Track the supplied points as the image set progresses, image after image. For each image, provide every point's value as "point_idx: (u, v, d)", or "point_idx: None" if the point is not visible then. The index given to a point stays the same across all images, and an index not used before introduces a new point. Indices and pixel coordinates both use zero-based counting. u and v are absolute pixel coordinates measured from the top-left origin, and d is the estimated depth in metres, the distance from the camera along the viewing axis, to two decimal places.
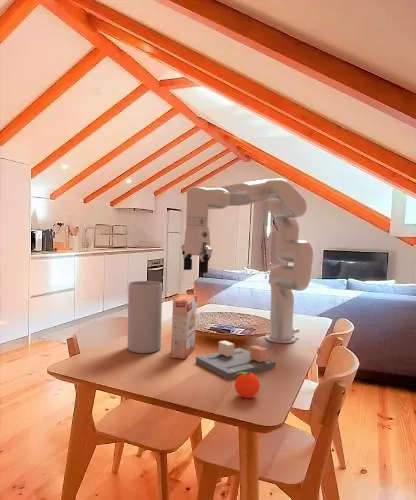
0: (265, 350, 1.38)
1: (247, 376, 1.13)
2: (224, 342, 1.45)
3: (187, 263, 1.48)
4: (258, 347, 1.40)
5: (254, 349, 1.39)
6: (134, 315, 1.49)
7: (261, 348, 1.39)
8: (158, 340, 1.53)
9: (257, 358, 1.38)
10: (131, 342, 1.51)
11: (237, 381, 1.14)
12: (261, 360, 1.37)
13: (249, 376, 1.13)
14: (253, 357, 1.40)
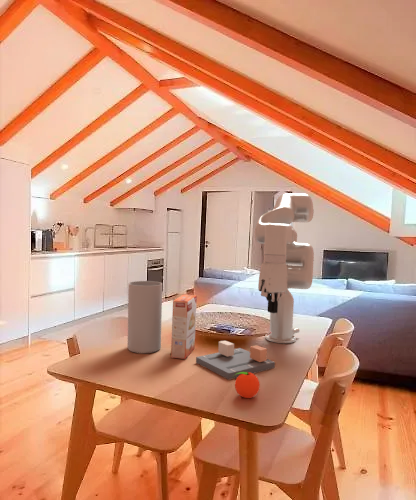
0: (265, 350, 1.38)
1: (247, 376, 1.13)
2: (224, 342, 1.45)
3: None
4: (258, 347, 1.40)
5: (254, 349, 1.39)
6: (134, 315, 1.49)
7: (261, 348, 1.39)
8: (158, 340, 1.53)
9: (257, 358, 1.38)
10: (131, 342, 1.51)
11: (237, 381, 1.14)
12: (261, 360, 1.37)
13: (249, 376, 1.13)
14: (253, 357, 1.40)
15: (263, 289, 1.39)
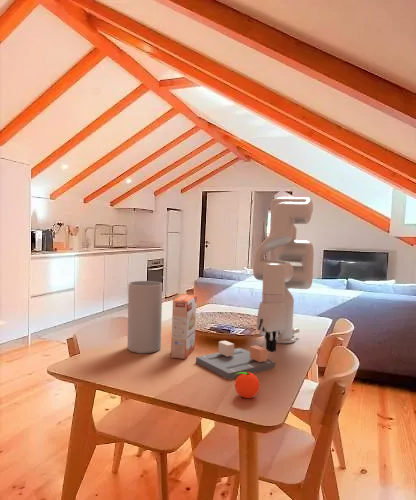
0: (265, 350, 1.38)
1: (247, 376, 1.13)
2: (224, 342, 1.45)
3: None
4: (258, 347, 1.40)
5: (254, 349, 1.39)
6: (134, 315, 1.49)
7: (261, 348, 1.39)
8: (158, 340, 1.53)
9: (257, 358, 1.38)
10: (131, 342, 1.51)
11: (237, 381, 1.14)
12: (261, 360, 1.37)
13: (249, 376, 1.13)
14: (253, 357, 1.40)
15: (261, 328, 1.39)
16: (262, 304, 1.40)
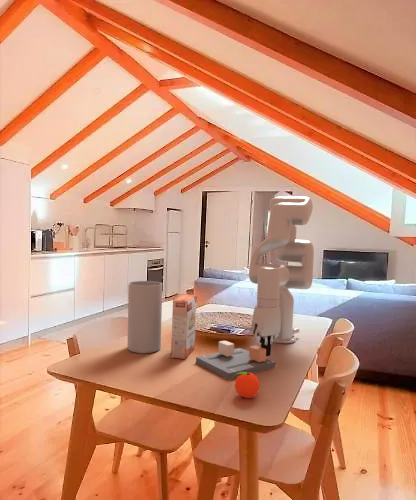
0: (264, 350, 1.38)
1: (247, 376, 1.13)
2: (224, 342, 1.45)
3: None
4: (257, 347, 1.40)
5: (253, 349, 1.39)
6: (134, 315, 1.49)
7: (261, 348, 1.38)
8: (158, 340, 1.53)
9: (256, 358, 1.38)
10: (131, 342, 1.51)
11: (237, 381, 1.14)
12: (260, 360, 1.37)
13: (249, 376, 1.13)
14: (252, 357, 1.40)
15: (256, 333, 1.38)
16: (257, 309, 1.38)
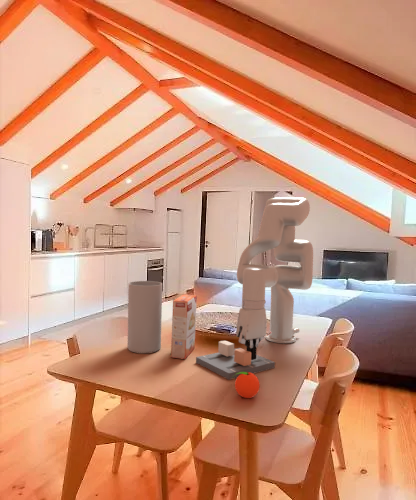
0: (249, 353, 1.34)
1: (247, 376, 1.13)
2: (224, 342, 1.45)
3: None
4: (242, 350, 1.36)
5: (238, 352, 1.35)
6: (134, 315, 1.49)
7: (246, 352, 1.34)
8: (158, 340, 1.53)
9: (241, 362, 1.34)
10: (131, 342, 1.51)
11: (237, 381, 1.14)
12: (245, 364, 1.33)
13: (249, 376, 1.13)
14: (237, 360, 1.36)
15: (241, 336, 1.34)
16: (241, 311, 1.34)
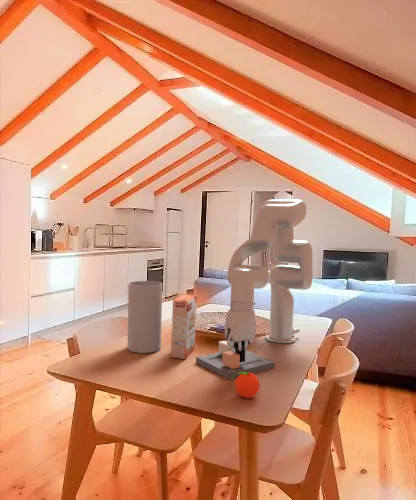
0: (238, 356, 1.31)
1: (247, 376, 1.13)
2: (224, 342, 1.45)
3: None
4: (231, 353, 1.33)
5: (226, 355, 1.32)
6: (134, 315, 1.49)
7: (234, 354, 1.32)
8: (158, 340, 1.53)
9: (229, 365, 1.31)
10: (131, 342, 1.51)
11: (237, 381, 1.14)
12: (233, 367, 1.30)
13: (249, 376, 1.13)
14: (225, 363, 1.33)
15: (229, 338, 1.31)
16: (230, 312, 1.32)
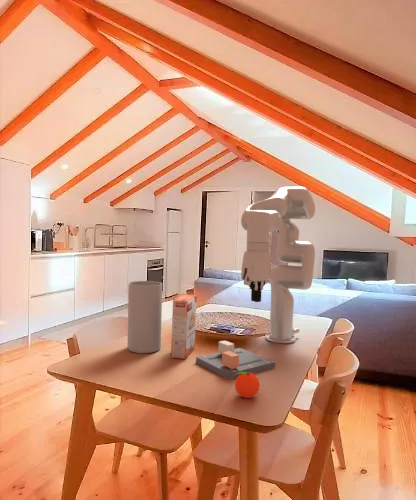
0: (237, 356, 1.31)
1: (247, 376, 1.13)
2: (224, 342, 1.45)
3: None
4: (230, 353, 1.33)
5: (226, 355, 1.32)
6: (134, 315, 1.49)
7: (233, 354, 1.31)
8: (158, 340, 1.53)
9: (229, 365, 1.31)
10: (131, 342, 1.51)
11: (237, 381, 1.14)
12: (233, 367, 1.30)
13: (249, 376, 1.13)
14: (224, 363, 1.33)
15: (246, 278, 1.36)
16: (246, 253, 1.36)
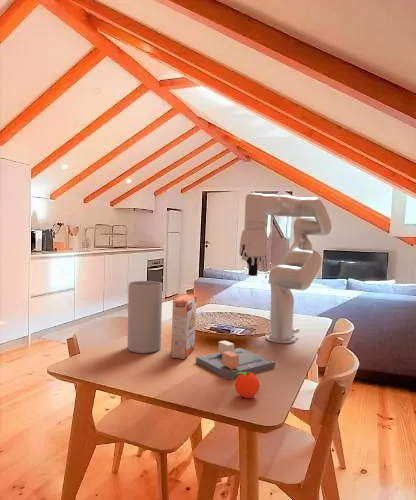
0: (237, 356, 1.31)
1: (247, 376, 1.13)
2: (224, 342, 1.45)
3: None
4: (230, 353, 1.33)
5: (226, 355, 1.32)
6: (134, 315, 1.49)
7: (233, 354, 1.31)
8: (158, 340, 1.53)
9: (229, 365, 1.31)
10: (131, 342, 1.51)
11: (237, 381, 1.14)
12: (233, 367, 1.30)
13: (249, 376, 1.13)
14: (224, 363, 1.33)
15: (244, 253, 1.51)
16: (244, 231, 1.51)
